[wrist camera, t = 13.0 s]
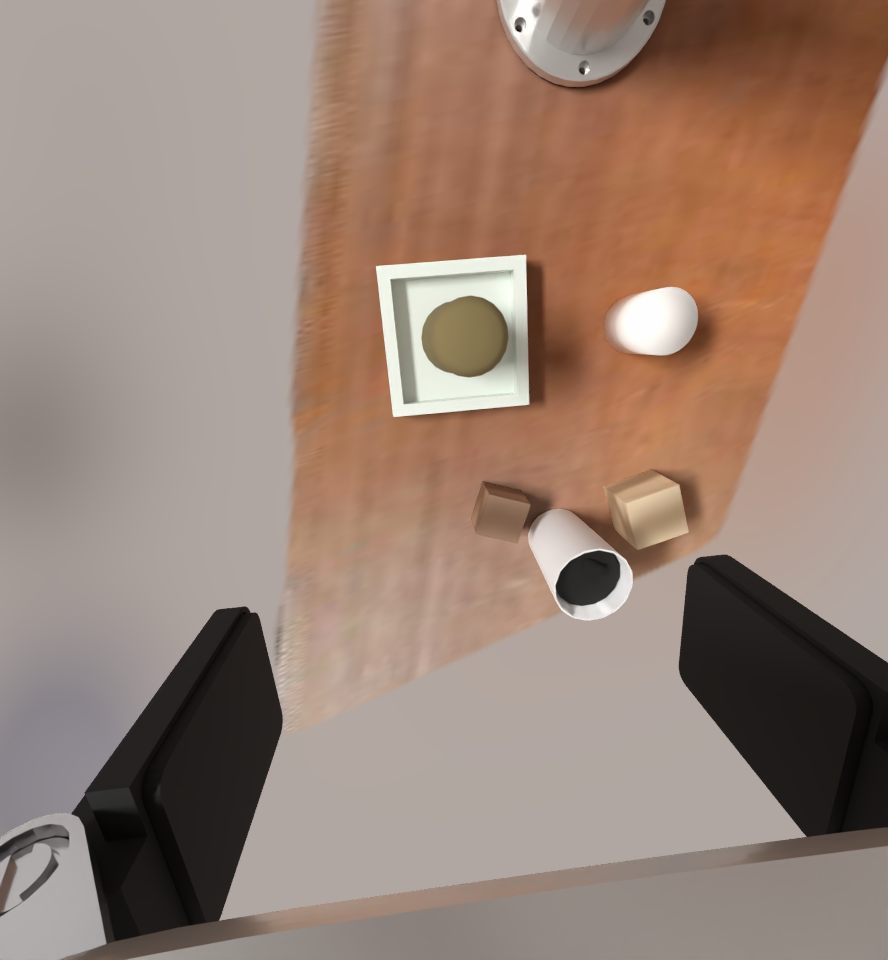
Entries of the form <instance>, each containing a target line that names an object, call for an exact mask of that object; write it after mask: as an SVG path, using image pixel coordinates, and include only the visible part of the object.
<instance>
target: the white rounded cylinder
mask: <svg viewBox="0 0 888 960" xmlns="http://www.w3.org/2000/svg"><path fill="white" fill-rule="evenodd" d="M697 323H698V310H697V306H696V303H695V301H694V299H693V298H692V297H691V295H690V294H689V293H687V292H686V291H685V290H683V289H680V288H676V287H666V288H661V289H656V290H651V291H646V292H641V293H637V294H632V295H627V296H624V297H622V298H620V299H618V300H617V301H616V302H615V303H614V304H613V305H612V306H611V307H610V308H609V310H608V312H607V314H606V316H605V319H604V326H603V330H604V336H605V338H606V341H607V342H608V344H609V345H610V346H611V347H612V348H613V349H614V350H616V351H618V352H621V353H630V354H646V355H669V354H672V353H675V352H677V351H679V350H680V349H682V348H683V347H684V346H685V345H686V344H687V343H688V342H689V341H690V339H691V338H692V336H693V334H694V332H695V330H696V327H697Z"/></svg>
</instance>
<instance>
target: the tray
mask: <svg viewBox="0 0 888 960" xmlns="http://www.w3.org/2000/svg"><path fill="white" fill-rule="evenodd" d="M376 270H377V279H378V288H379V297H380V305H381V314H382V323H383V331H384V340H385V349H386V358H387V366H388V375H389V384H390V392H391V401H392V410H393V417H399V416H410V415H421V414H432V413H443V412H454V411H465V410H476V409H487V408H498V407H509V406H520V405H529V372H528V327H527V281H526V255H517V256H504V257H491V258H478V259H464V260H451V261H438V262H425V263H412V264H399V265H386V266H376ZM465 296H476V297H482V298H484V299H486V300H488V301H490V302H491V303H493V304H494V305H495V306H496V307H497V308H498V309H499V310H500V311H501V313H502V314H503V316H504V319H505V321H506V323H507V327H508V337H509V338H508V344H507V349H506V352H505V354H504V355H503V357H502V359H501V361H500V362H499V363H498V364H497V365H496V366H495V367H494V368H493V369H492V370H491V371H489V372H487V373H485V374H483V375H481V376H476V377H470V378H469V377H462V376H457V375H455V374H453V373H448V372H444V371H442V370H440V369H438V368H436V367H435V366H434V365H433V364H432V363H431V362H430V361H429V360H428V358H427V356H426V354H425V352H424V350H423V346H422V340H421V336H422V329H423V325H424V323H425V321H426V319H427V317H428V315H429V314H430V313H431V312H432V311H433V310H434V309H435V308H436V307H438V306H440V305H442V304H443V303H445V302H451V301H453V300H455V299H457V298H458V297H465Z"/></svg>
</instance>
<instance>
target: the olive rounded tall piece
mask: <svg viewBox="0 0 888 960" xmlns="http://www.w3.org/2000/svg"><path fill="white" fill-rule="evenodd" d="M508 338H509V337H508V327H507V323H506V321H505V319H504V316H503V314H502V313H501V311H500V310H499V309H498V308H497V307H496V306H495V305H494V304H493V303H491V302H490V301H488V300H486V299H484V298H482V297H476V296H465V297H458V298H457V299H455V300H453V301H451V302H445V303H443V304H442V305H440V306H438V307H436V308H435V309H434V310H433V311H432V312H431V313H430V314H429V315H428V317H427V319H426V321H425V323H424V325H423V329H422V336H421V340H422V346H423V350H424V352H425V354H426V356H427V358H428V360H429V361H430V362H431V363H432V364H433V365H434V366H435V367H436V368H438V369H440V370H442V371H444V372H448V373H453V374H455V375H457V376H462V377H469V378H470V377H476V376H481V375H483V374H485V373H487V372H489V371H491V370H492V369H493V368H494V367H495V366H496V365H497V364H498V363H499V362H500V361H501V359H502V357H503V355H504V354H505V352H506V349H507V344H508Z"/></svg>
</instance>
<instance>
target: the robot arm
mask: <svg viewBox="0 0 888 960" xmlns="http://www.w3.org/2000/svg"><path fill="white" fill-rule="evenodd" d="M665 2H666V0H497V5H498V10H499V15H500V19H501V22H502V25H503V28H504V30H505V33H506V36H507V38H508V39H509V41H510V43H511V45H512V47H513V49H514V50H515V52H516V53H517V55H518V56H519V57H520V58H521V59H522V61H523V62H524V63H525V64H526V66H528V67H529V68H530V69H531V70H533V71H534V72H535V73H536V74H537V75H539V76H540V77H542V78H544V79H546V80H548V81H550V82H552V83H555V84H559V85H563V86H567V87H585V86H589V85H593V84H598V83H600V82H602V81H604V80H606V79H609V78H611V77H613V76H614V75H616V74H617V73H618V72H619V71H621V70H622V69H623V68H625V67H626V66H627V65H628V64H629V63H630V62H631V61H632V60H633V59H634V57H635V56H636V55H637V54H638V53H639V52H640V50H641V49H642V48H643V46H644V45H645V44H646V42H647V41H648V40H649V38H650V37H651V35H652V33H653V31H654V29H655V28H656V26H657V24H658V22H659V19H660V16H661V14H662V11H663V8H664V5H665ZM516 29H519V30H520V32H517V31H516ZM579 71H582V73H583V75H582V74H581V73H580V72H579ZM679 671H680V675H681V678H682V680H683V682H684V683H685V685H686V686H687V687H688V689H689V690H690V691H691V692H692V694H693V695H694V696H695V698H697V700H698V701H699V703H700V704H701V705H702V706H703V708H704V709H705V710H706V711H707V713H708V714H709V715H710V716H711V718H712V719H713V720H714V721H715V722H716V724H717V725H718V726H719V728H720V729H721V730H722V731H723V733H724V734H725V735H726V736H727V738H728V739H729V740H730V741H731V743H732V744H733V745H734V746H735V748H736V749H737V750H738V751H739V753H740V754H741V755H742V757H743V758H744V759H745V760H746V761H747V763H748V764H749V765H750V767H751V768H752V769H753V770H754V772H755V773H756V774H757V775H758V776H759V778H760V779H761V780H762V782H763V783H764V784H765V785H766V787H767V788H768V789H769V790H770V792H771V793H772V794H773V795H774V797H775V798H776V799H777V800H778V802H779V803H780V804H781V805H782V807H783V808H784V809H785V810H786V812H787V813H788V814H789V815H790V817H791V818H792V819H793V820H794V822H795V823H796V824H797V825H798V827H799V828H800V829H801V831H802V832H803V833H804V834H805V835H806V836H807V837H804V838H796V839H789V840H781V841H774V842H766V843H758V844H751V845H743V846H736V847H728V848H721V849H713V850H706V851H697V852H690V853H683V854H675V855H668V856H661V857H653V858H647V859H639V860H631V861H624V862H617V863H609V864H602V865H595V866H588V867H581V868H574V869H567V870H559V871H552V872H545V873H537V874H531V875H523V876H516V877H509V878H501V879H494V880H488V881H480V882H473V883H466V884H459V885H452V886H445V887H439V888H432V889H424V890H418V891H411V892H405V893H397V894H390V895H383V896H376V897H370V898H363V899H356V900H349V901H342V902H335V903H328V904H321V905H315V906H308V907H300V908H294V909H288V910H282V911H276V912H270V913H264V914H258V915H252V916H246V917H239V918H234V919H227V920H222V921H219V919H220V916H221V914H222V911H223V908H224V904H225V902H226V899H227V896H228V893H229V889H230V886H231V883H232V880H233V877H234V874H235V871H236V868H237V865H238V862H239V859H240V856H241V853H242V850H243V847H244V844H245V841H246V838H247V835H248V831H249V828H250V826H251V823H252V820H253V817H254V813H255V810H256V807H257V804H258V801H259V798H260V795H261V792H262V789H263V786H264V783H265V780H266V777H267V774H268V771H269V768H270V765H271V762H272V759H273V756H274V752H275V750H276V747H277V743H278V740H279V737H280V734H281V730H282V722H283V718H282V711H281V706H280V702H279V698H278V694H277V690H276V685H275V681H274V677H273V673H272V669H271V664H270V660H269V656H268V652H267V648H266V643H265V640H264V636H263V631H262V627H261V622H260V619H259V616H258V614H257V613H250V611H249V609H248V608H247V607H237V608H227V609H219V610H216V611H215V612H214V613H213V615H212V616H211V618H210V619H209V620H208V622H207V623H206V624H205V626H204V627H203V629H202V630H201V631H200V633H199V634H198V636H197V637H196V638H195V640H194V641H193V643H192V644H191V646H190V647H189V648H188V650H187V651H186V652H185V654H184V655H183V657H182V658H181V659H180V661H179V662H178V664H177V665H176V666H175V668H174V669H173V670H172V672H171V673H170V675H169V676H168V677H167V679H166V680H165V682H164V683H163V684H162V686H161V687H160V688H159V690H158V691H157V693H156V694H155V696H154V697H153V698H152V700H151V701H150V702H149V704H148V705H147V707H146V708H145V709H144V711H143V712H142V714H141V715H140V716H139V718H138V719H137V720H136V722H135V723H134V725H133V726H132V727H131V729H130V730H129V732H128V733H127V734H126V736H125V737H124V739H123V740H122V742H121V743H120V744H119V746H118V747H117V748H116V750H115V751H114V753H113V754H112V756H111V757H110V758H109V760H108V761H107V762H106V764H105V765H104V766H103V768H102V769H101V771H100V772H99V773H98V775H97V776H96V778H95V779H94V781H93V782H92V783H91V785H90V786H89V787H88V789H87V790H86V792H85V796H84V797H83V798H82V800H81V801H80V803H79V804H78V805H77V807H76V808H75V810H74V811H73V812H72V814H69V813H57V814H50V815H46V816H43V817H40V818H36V819H33V820H31V821H29V822H27V823H25V824H23V825H21V826H19V827H17V828H15V829H13V830H11V831H9V832H8V833H6V834H5V835H3V836H2V837H0V960H888V663H887V662H886V661H884V660H883V659H881V658H880V657H878V656H877V655H875V654H874V653H872V652H871V651H870V650H868V649H867V648H865V647H864V646H862V645H861V644H859V643H858V642H856V641H855V640H853V639H852V638H850V637H849V636H847V635H846V634H844V633H843V632H841V631H840V630H839V629H837V628H836V627H834V626H833V625H831V624H830V623H828V622H826V621H825V620H824V619H822V618H821V617H819V616H818V615H816V614H815V613H813V612H811V611H810V610H809V609H808V608H806V607H804V606H803V605H802V604H800V603H799V602H797V601H796V600H794V599H793V598H791V597H790V596H788V595H787V594H785V593H784V592H782V591H781V590H779V589H778V588H776V587H775V586H773V585H772V584H771V583H769V582H768V581H766V580H765V579H763V578H762V577H760V576H759V575H757V574H756V573H754V572H753V571H751V570H750V569H748V568H747V567H745V566H744V565H743V564H741V563H739V562H738V561H736V560H735V559H734V558H732V557H731V556H728V555H716V556H707V557H700V558H698V559H696V561H695V563H694V565H691V566H690V567H689V569H688V574H687V584H686V595H685V605H684V616H683V626H682V636H681V647H680V658H679Z"/></svg>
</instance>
